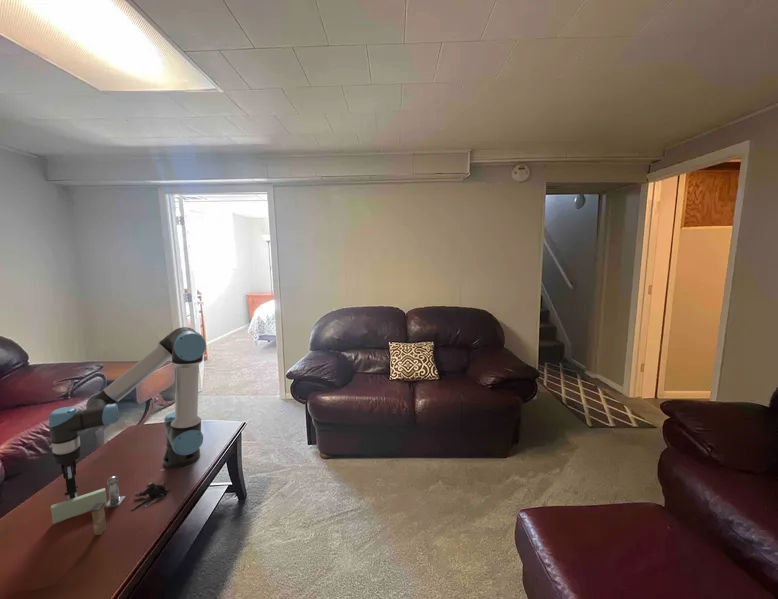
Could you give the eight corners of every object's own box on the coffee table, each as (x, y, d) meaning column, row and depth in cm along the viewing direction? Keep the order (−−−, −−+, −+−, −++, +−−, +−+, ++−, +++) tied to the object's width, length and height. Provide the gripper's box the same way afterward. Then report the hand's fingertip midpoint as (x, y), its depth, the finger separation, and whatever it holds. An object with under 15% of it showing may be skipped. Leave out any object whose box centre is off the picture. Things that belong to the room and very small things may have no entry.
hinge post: (125, 497, 138) (123, 472, 136) (118, 506, 133) (116, 480, 131) (111, 499, 137) (108, 473, 135) (104, 508, 132) (101, 481, 130)
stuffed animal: (173, 479, 147) (164, 480, 137) (170, 506, 143) (160, 508, 133) (142, 484, 144) (130, 484, 134) (138, 511, 140) (124, 513, 130)
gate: (106, 501, 134) (105, 487, 133) (106, 504, 132) (105, 490, 132) (53, 520, 124) (51, 505, 124) (52, 523, 123) (50, 508, 122)
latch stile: (107, 527, 123) (104, 502, 122) (101, 534, 120) (98, 509, 118) (99, 528, 122) (96, 503, 121) (93, 535, 119) (90, 510, 118)
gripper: (52, 446, 128) (59, 503, 131) (52, 461, 119) (60, 522, 122) (79, 438, 133) (85, 493, 137) (81, 452, 124) (88, 511, 128)
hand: (73, 507), depth 129 cm, fingers closed
